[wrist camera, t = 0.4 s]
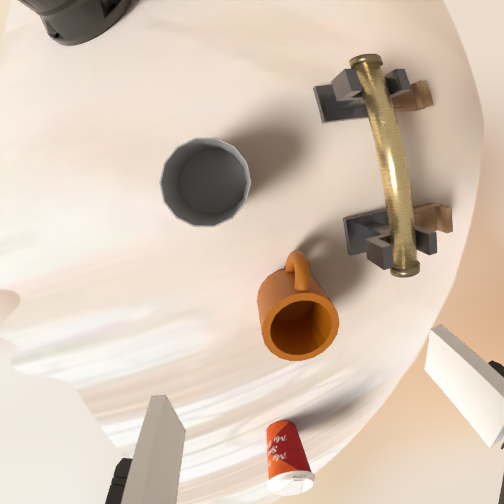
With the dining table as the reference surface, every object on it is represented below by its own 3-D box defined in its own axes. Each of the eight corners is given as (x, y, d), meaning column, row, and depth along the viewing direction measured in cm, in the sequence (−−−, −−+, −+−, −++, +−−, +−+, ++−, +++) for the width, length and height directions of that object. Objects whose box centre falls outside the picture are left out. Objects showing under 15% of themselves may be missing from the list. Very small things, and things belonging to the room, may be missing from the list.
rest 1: (366, 89, 33) (382, 79, 28) (410, 88, 33) (428, 81, 28) (373, 112, 33) (390, 105, 29) (416, 110, 33) (435, 105, 29)
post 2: (341, 219, 37) (380, 235, 26) (387, 208, 37) (435, 220, 26) (347, 254, 38) (384, 281, 27) (391, 241, 38) (437, 263, 27)
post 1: (311, 88, 32) (340, 57, 22) (360, 84, 32) (401, 58, 22) (321, 123, 34) (355, 103, 23) (369, 117, 34) (414, 101, 23)
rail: (344, 64, 25) (356, 52, 21) (371, 64, 25) (386, 53, 21) (385, 271, 31) (400, 281, 27) (409, 263, 31) (425, 272, 27)
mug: (333, 252, 38) (360, 273, 29) (308, 329, 41) (325, 364, 32) (270, 238, 37) (281, 256, 28) (249, 320, 40) (253, 356, 31)
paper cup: (267, 415, 45) (277, 476, 31) (307, 418, 46) (324, 476, 32) (255, 439, 47) (261, 497, 33) (292, 442, 48) (305, 496, 34)
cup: (247, 149, 34) (252, 138, 24) (245, 214, 36) (249, 227, 26) (180, 149, 34) (160, 139, 24) (179, 214, 36) (160, 226, 26)
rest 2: (392, 212, 37) (411, 216, 32) (432, 202, 37) (452, 206, 32) (395, 236, 38) (413, 243, 33) (434, 225, 38) (454, 231, 33)
